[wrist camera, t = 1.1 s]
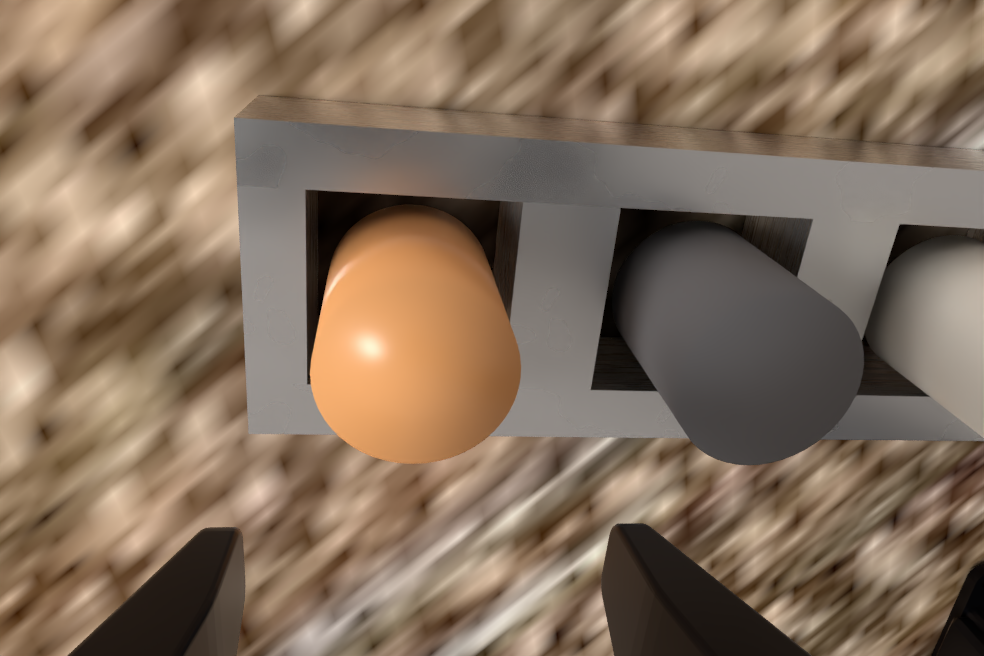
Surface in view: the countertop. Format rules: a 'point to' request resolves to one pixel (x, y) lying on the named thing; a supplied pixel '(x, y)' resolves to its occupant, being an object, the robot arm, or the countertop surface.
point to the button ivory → (935, 323)
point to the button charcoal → (736, 343)
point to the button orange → (413, 339)
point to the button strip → (582, 242)
